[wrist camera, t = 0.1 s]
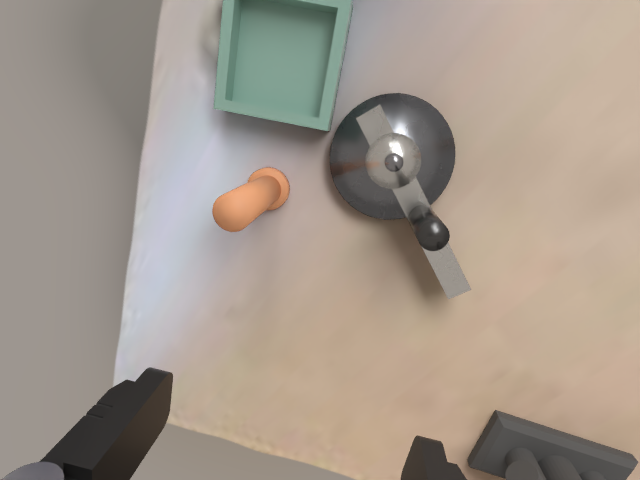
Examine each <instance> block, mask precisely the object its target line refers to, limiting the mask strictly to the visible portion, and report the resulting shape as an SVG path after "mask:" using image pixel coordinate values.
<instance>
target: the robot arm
mask: <svg viewBox="0 0 640 480" xmlns="http://www.w3.org/2000/svg"><path fill="white" fill-rule="evenodd" d="M172 382H173V374H172V373H170V372H166V371H162V370H158V369H154V368H151V367H150V368H147V369H146V370H145V371H144V372H143V373H142V374H141V376H140V377H139V378H138V379H137V380H136V381H135V382H134V381H130V380H125V381H123V382H122V383H120V384H118V385H116V386H115V387H113V388H111V389H110V390H108V392H107V393H106V394H105V395H104V396H103V397H102V398H101V399H100V400H99V401H98V402H97V404H96V405H94V406H93V407H92V408H91V409H90V410H89V411H88V412H87V414H86V416H84V417H82V419H80V421H79V422H78V423H77V424H76V425H75V426H74V427H73V428H72V429H71V430H70V431H69V432H68V433H67V434H66V435H65V436H64V437H63V438H62V439H61V440H60V441H59V442H58V443H57V444H56V445H55V446H54V448H53V449H52V450H51V451H50V452H49V453H48V454H47V455H46V456H45V457H44V458H43V459H42V460H41V461H40V462H36V463H31V464H28V465H24V466H22V467H20V468H18V469H16V470H14V471H12V472H11V473H9V474H8V475H6V476H5V477H4V478H3V479H1V480H130V478H131V477H132V475H133V474H134V472H135V471H136V469H137V468H138V466H139V464H140V463H141V461H142V460H143V459H144V457H145V455H146V454H147V452H148V451H149V449H150V448H151V446H152V445H153V443H154V442H155V440H156V439H157V437H158V436H159V434H160V433H161V431H162V429H163V428H164V426H165V424H166V421H167V419H168V416H169V412H170V404H171V393H172ZM401 480H467V479H466V478H465V476H464V475H463V473H462V472H461V470H460V469H459V467H458V465H457V464H453V463H449V462H447V459H446V455H445V451H444V447H443V444H442V443H441V442H440V441H437V440H433V439H429V438H425V437H421V436H416V437H415V438H414V441H413V443H412V446H411V449H410V452H409V454H408V457H407V460H406V462H405V465H404V468H403V471H402V475H401Z"/></svg>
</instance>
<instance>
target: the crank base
mask: <svg viewBox="0 0 640 480" xmlns="http://www.w3.org/2000/svg"><path fill="white" fill-rule="evenodd" d="M378 105H381V107H382V109H383V111H384V113H385V115H386V118H387V120H388V122H389V124H390V126H391V128H392V130H393V132H394V133H399V134H403V135H406V136H408V137H409V138H411V139H412V140H413V141H414V142H415V143H416V144H417V146H418V148H419V150H420V153H421V166H420V170H419V172H418V174H417V175H416V178H417V180H418V182H419V184H420V187H421V189H422V191H423V193H424V195H425V197H426V199H427V201H428V203H429V205H431V204H432V203H433V202H434V201H435V200H436V199H437V198H438V197H439V196H440V195H441V193H442V192H443V191H444V189H445V188H446V186H447V184H448V182H449V180H450V178H451V175H452V172H453V168H454V164H455V144H454V138H453V135H452V132H451V130H450V127H449V125H448V123H447V122H446V120H445V119H444V117H443V116H442V115H441V114H440V113H439V111H438V110H437V109H436V108H434V107H433V106H432V105H431V104H429V103H427V102H426V101H424V100H422V99H420V98H418V97H415V96H411V95H408V94H400V93H393V94H384V95H379V96H376V97H373V98H371V99H369V100H366V101H364V102H363V103H361V104H360V105H358V106H357V107H356V108H354V109H353V110H352V111H351V112H350V113H349V114H348V115H347V116H346V117H345V118H344V120H343V121H342V122H341V124H340V125H339V127H338V129H337V131H336V133H335V136H334V138H333V141H332V145H331V151H330V168H331V174H332V177H333V180H334V183H335V185H336V187H337V189H338V191H339V193H340V194H341V195H342V197H343V198H344V199H345V200H346V201H347V202H348V203H349V204H350V205H351V206H352V207H354V208H355V209H356V210H358V211H360V212H361V213H363V214H366V215H368V216H371V217H374V218H379V219H401V218H405V217H406V215H405V213H404V211H403V209H402V208H401V206H400V204H399V202H398V200H397V198H396V196H395V194H394V192H393V190H392V189H387V188H384V187H381V186H379V185H377V184H376V183H375V182H374V181H373V180H372V179H371V178H370V176H369V175H368V172H367V169H366V163H365V159H366V153H367V150H368V148H369V146H370V145H369V143H368V141H367V139H366V137H365V135H364V133H363V131H362V129H361V127H360V125H359V123H358V122H357V120H356V118H357V117H359V116H361V115H363V114H364V113H366V112H368V111H369V110H371V109H373V108H374V107H376V106H378Z"/></svg>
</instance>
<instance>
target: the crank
mask: <svg viewBox="0 0 640 480" xmlns="http://www.w3.org/2000/svg"><path fill="white" fill-rule="evenodd" d="M356 120H357V122H358V123H359V125H360V127H361V129H362V131H363V133H364V135H365V137H366V139H367V141H368V143H369V145H370V146H369V148H368V150H367V153H366V159H365V163H366V169H367V172H368V175H369V176H370V178H371V179H372V180H373V181H374V182H375V183H376V184H377V185H379V186H381V187H384V188H387V189H392V190H393V192H394V194H395V196H396V198H397V200H398V202H399V204H400V206H401V208H402V209H403V211H404V213H405V215H406V217H407V219H408V221H409V223H410V225H411V227H412V229H413V231H414V233H415V235H416V237H417V239H418V241H419V243H420V245H421V247H422V249H423V251H424V252H425V254H426V256H427V258H428V260H429V262H430V264H431V266H432V268H433V270H434V272H435V274H436V276H437V278H438V280H439V282H440V284H441V286H442V288H443V290H444V292H445V294H446V295H447V297H448V299H450V298H453V297H455V296H457V295H460V294H462V293H464V292H467V291H469V290H471V288H470V286H469V284H468V282H467V280H466V278H465V276H464V274H463V272H462V270H461V268H460V266H459V264H458V262H457V260H456V258H455V256H454V253H453V251H452V249H451V247H450V245H449V243H448V241H449V237H450V235H449V231H448V229H447V227H446V226H445V225H444V224H443V223H442V221H441V220H440V219H439V218H438V217H437V215H436V214H435V213H434V212H433V211H432V209H431V207H430V205H429V203H428V201H427V199H426V197H425V195H424V193H423V191H422V189H421V187H420V184H419V182H418V180H417V178H416V175H417V174H418V172H419V170H420V166H421V153H420V150H419V148H418V146H417V144H416V143H415V142H414V141H413V140H412V139H411V138H409V137H408V136H406V135H403V134H399V133H394V132H393V130H392V128H391V126H390V124H389V122H388V120H387V118H386V115H385V113H384V111H383V109H382V107H381V105H378V106H376V107H374V108H373V109H371V110H369V111H368V112H366V113H364V114H363V115H361V116H359V117H357V118H356Z"/></svg>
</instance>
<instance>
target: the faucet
mask: <svg viewBox="0 0 640 480" xmlns="http://www.w3.org/2000/svg"><path fill="white" fill-rule="evenodd" d="M467 460H468V463H469V467H471V468H474V469H478V470H481V471H484V472H487V473H490V474H493V475H496V476H499V477H502V478H505V479H506V480H626V479H627V477H628V476H629V475H630V474H631V472H632V471H633V470H634V468H635V467H636V465H637V463H638V461H637V460H636V459H635V458H634V456H633V455H632V454H629V453H626V452H623V451H620V450H617V449H614V448H611V447H608V446H605V445H601V444H598V443H595V442H592V441H589V440H586V439H583V438H580V437H577V436H574V435H571V434H568V433H565V432H561V431H558V430H555V429H552V428H549V427H546V426H543V425H540V424H537V423H534V422H531V421H528V420H525V419H521V418H518V417H515V416H512V415H509V414H506V413H503V412H500V411H497V410H495V412H494V413H493V415H492V417H491V419H490V420H489V422H488V424H487V426H486V427H485V429H484V431H483V433H482V434H481V436H480V438H479V440H478V441H477V443H476V445H475V447H474V448H473V450H472V452H471V454H470V456H469V457H468V459H467Z"/></svg>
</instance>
